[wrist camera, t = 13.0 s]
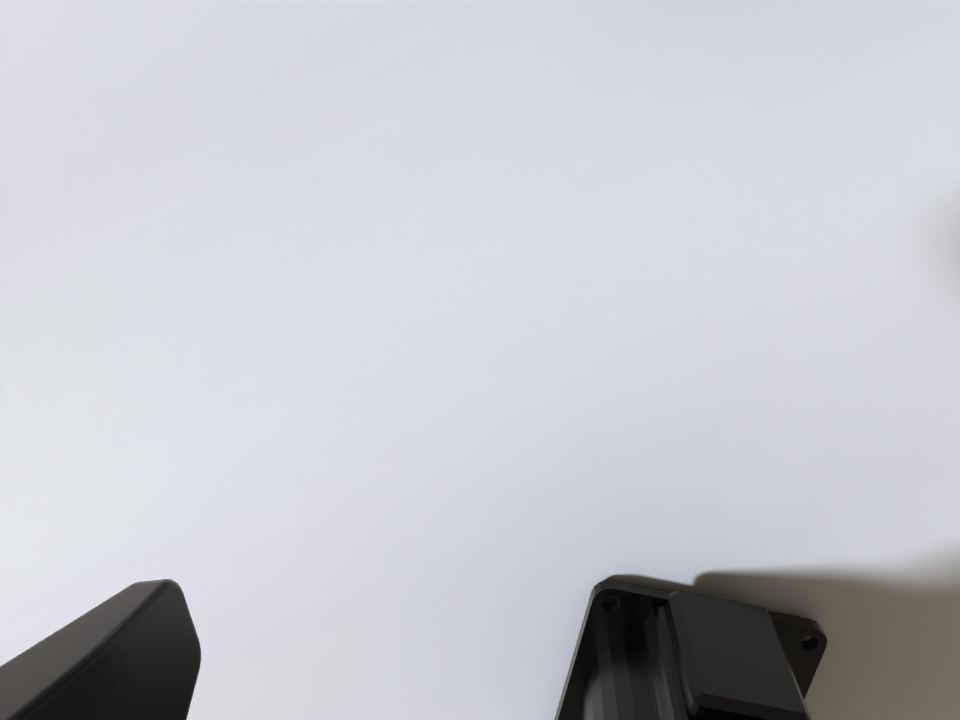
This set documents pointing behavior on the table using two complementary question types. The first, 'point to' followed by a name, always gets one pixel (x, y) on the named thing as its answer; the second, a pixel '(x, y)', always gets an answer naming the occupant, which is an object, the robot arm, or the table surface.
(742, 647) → the robot arm
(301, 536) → the table surface
